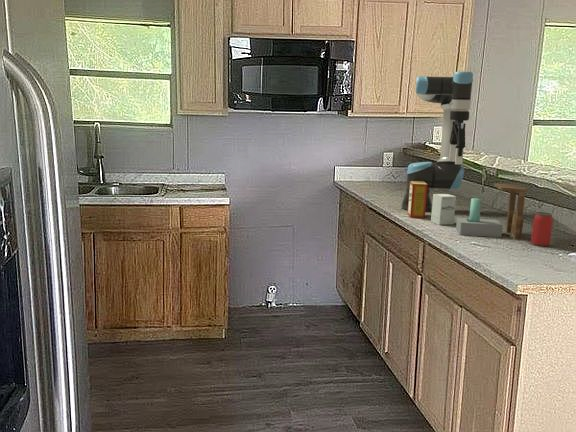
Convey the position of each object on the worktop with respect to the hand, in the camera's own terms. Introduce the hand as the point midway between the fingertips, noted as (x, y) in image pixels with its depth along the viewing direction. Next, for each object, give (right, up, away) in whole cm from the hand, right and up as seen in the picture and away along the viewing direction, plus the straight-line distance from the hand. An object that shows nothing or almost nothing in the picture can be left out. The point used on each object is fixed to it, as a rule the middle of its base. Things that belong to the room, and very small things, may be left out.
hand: (455, 162), depth 232 cm
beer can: (+26, -33, -22) cm, 47 cm away
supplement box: (-2, -26, +12) cm, 29 cm away
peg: (+6, -29, -5) cm, 30 cm away
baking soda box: (-10, -23, +27) cm, 37 cm away
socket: (+8, -30, -6) cm, 31 cm away
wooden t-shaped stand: (+18, -30, -7) cm, 36 cm away
